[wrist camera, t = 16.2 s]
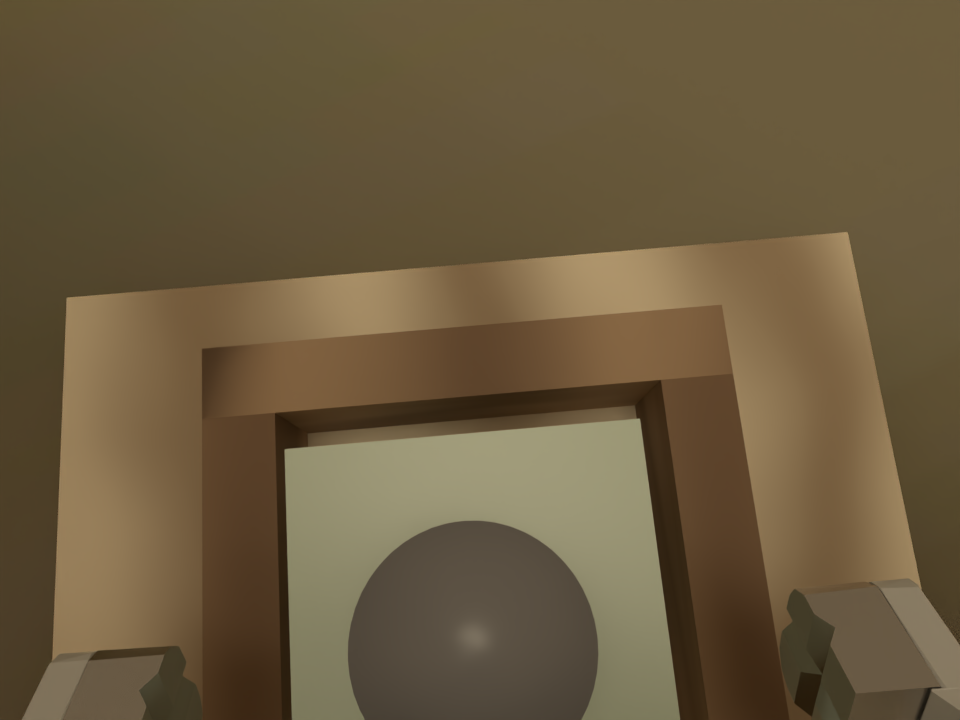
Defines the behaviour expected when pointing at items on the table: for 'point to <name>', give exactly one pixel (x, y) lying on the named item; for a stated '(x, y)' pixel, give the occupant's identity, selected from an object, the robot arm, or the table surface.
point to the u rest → (471, 409)
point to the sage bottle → (477, 578)
